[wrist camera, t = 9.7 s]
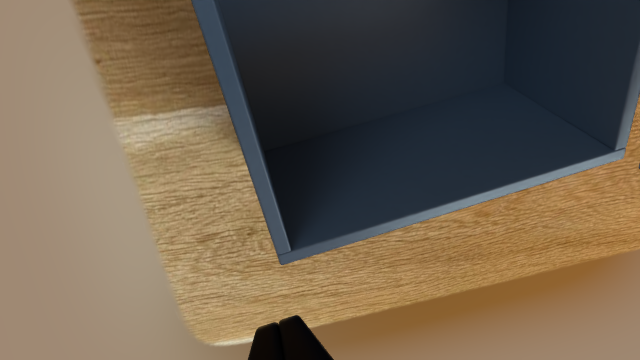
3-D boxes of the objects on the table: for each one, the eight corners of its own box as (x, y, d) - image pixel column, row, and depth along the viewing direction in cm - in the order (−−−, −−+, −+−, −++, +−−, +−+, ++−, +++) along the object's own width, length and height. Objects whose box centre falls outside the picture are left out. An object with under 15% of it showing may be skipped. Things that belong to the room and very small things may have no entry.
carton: (524, -233, 15) (742, -313, 9) (505, 85, 22) (624, 158, 16) (155, -152, 14) (128, -184, 8) (254, 157, 21) (280, 266, 15)
